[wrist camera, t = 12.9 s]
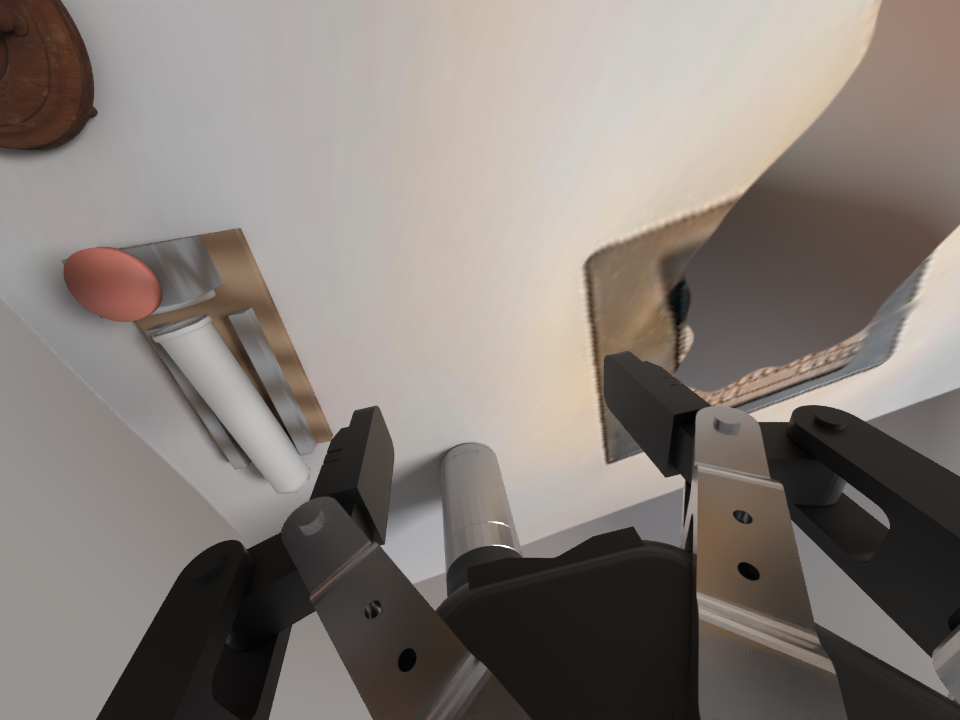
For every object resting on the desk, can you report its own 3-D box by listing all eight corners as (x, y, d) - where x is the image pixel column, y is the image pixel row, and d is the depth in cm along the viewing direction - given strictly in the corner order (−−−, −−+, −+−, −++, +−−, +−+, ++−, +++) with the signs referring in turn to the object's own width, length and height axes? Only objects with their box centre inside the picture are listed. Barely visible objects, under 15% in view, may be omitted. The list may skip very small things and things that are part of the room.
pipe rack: (332, 435, 49) (312, 487, 40) (232, 455, 48) (189, 514, 39) (238, 223, 35) (178, 233, 27) (97, 246, 35) (-11, 265, 26)
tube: (318, 488, 46) (203, 321, 34) (276, 510, 44) (141, 342, 32) (316, 465, 50) (214, 310, 38) (278, 483, 49) (160, 327, 37)
